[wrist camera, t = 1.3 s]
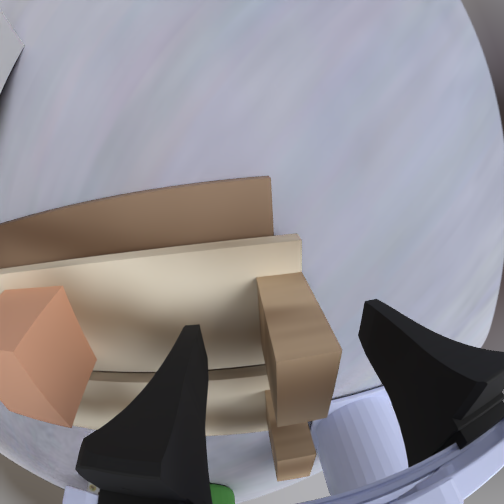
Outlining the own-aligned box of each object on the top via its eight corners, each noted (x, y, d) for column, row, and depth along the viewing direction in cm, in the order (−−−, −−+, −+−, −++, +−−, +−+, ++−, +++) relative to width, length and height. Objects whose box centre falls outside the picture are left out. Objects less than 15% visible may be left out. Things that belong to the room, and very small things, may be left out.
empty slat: (291, 418, 18) (307, 481, 13) (66, 417, 17) (50, 466, 12) (295, 360, 16) (319, 442, 10) (25, 364, 14) (-3, 418, 9)
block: (97, 359, 13) (71, 428, 9) (38, 355, 13) (9, 410, 8) (62, 285, 11) (13, 352, 7) (4, 289, 11) (-41, 341, 6)
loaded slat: (295, 348, 15) (322, 433, 10) (19, 354, 14) (-12, 409, 9) (296, 233, 12) (348, 310, 7) (-22, 272, 11) (-71, 320, 6)
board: (277, 414, 19) (278, 420, 19) (49, 408, 18) (47, 413, 18) (268, 175, 12) (270, 177, 11) (-43, 238, 11) (-48, 241, 10)
